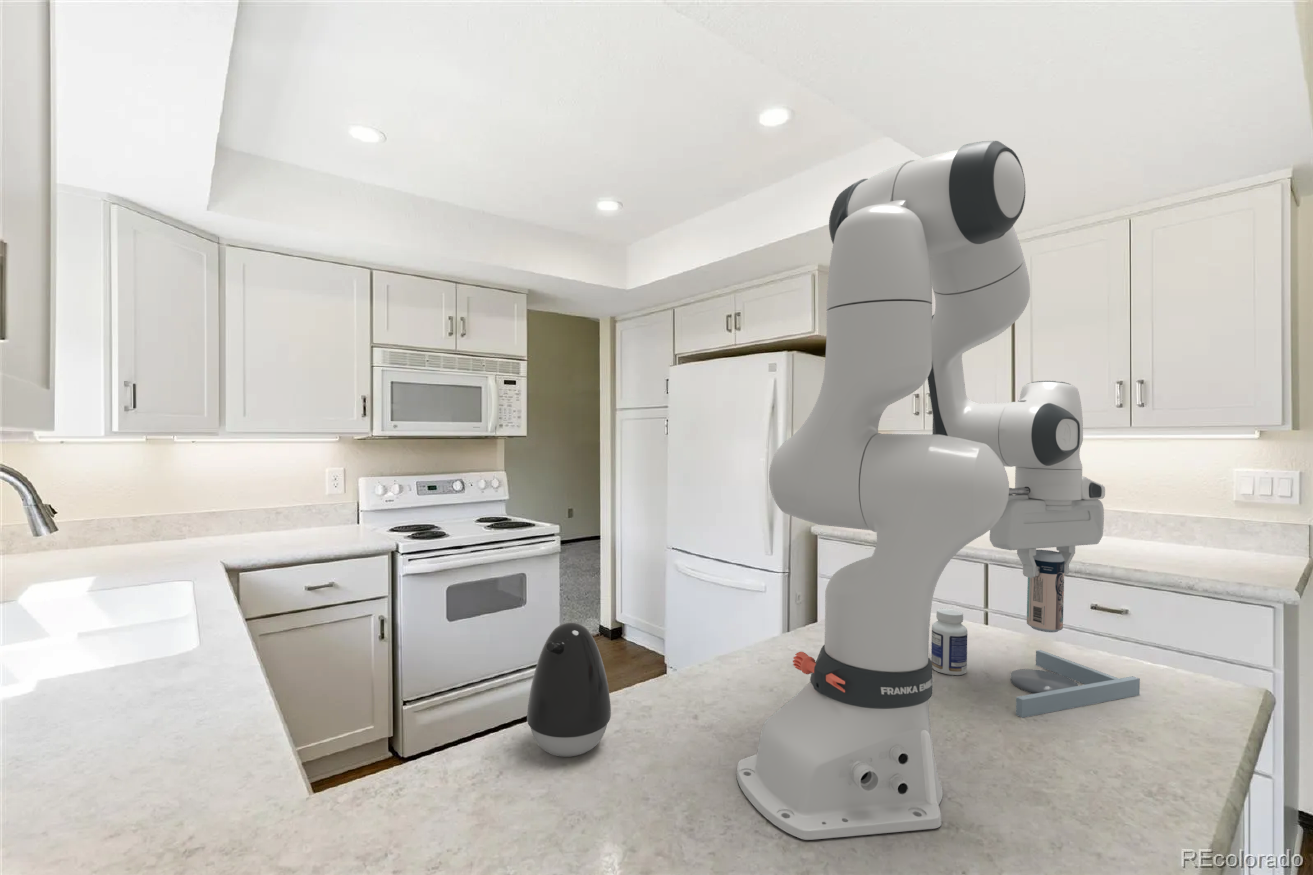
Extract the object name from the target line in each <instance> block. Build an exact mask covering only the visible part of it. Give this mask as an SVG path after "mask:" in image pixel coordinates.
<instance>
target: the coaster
mask: <svg viewBox="0 0 1313 875" xmlns="http://www.w3.org/2000/svg"><path fill="white" fill-rule="evenodd" d="M1010 682H1011V684H1012V685H1013V686H1015V687H1016V688H1018V689H1019V690H1021V691H1024V692H1025V693H1030V694H1035V693H1041V692H1047V691H1052V690H1058V689H1064V688H1069V687H1075V686H1079V684H1078V683H1077V681H1076V682H1075V680H1072V679H1070V678H1067V677H1065V676H1062V675H1060V674H1057V673H1055V672H1052V671H1049V670H1047V671H1046V670H1042V669H1036V668H1035V669H1033V668H1020V669H1015V670H1013V671H1011V672H1010Z"/></svg>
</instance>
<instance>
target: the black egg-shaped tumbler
mask: <svg viewBox="0 0 1313 875" xmlns="http://www.w3.org/2000/svg"><path fill="white" fill-rule="evenodd" d="M528 695H529V696H528V701H527V702H528V703H527V711H526V721H527V724H528V726H529V728H530V732H531V735H532V737H533V739H534V741H535V742H536V744H537V745H538V747H539V748H541V749H542V750H543V751H545V752H546V753H548V754H550V755H553V756H558V757H564V758H567V757H568V758H569V757H577V756H580V755H583V754H586V753H587V752H589V751H591V750H592V749H594V748H595V747H596V746H597V745H598V744H599V743H600V741H601V740H602V738H603V737H604V735H605V732H606V730H607V726H608V723H609V722H610V720H611V716H612V712H611V711H612V705H611V695H610V690H609V683H608V678H607V674H606V669H605V665H604V662H603V659H602V656H601V653H600V650H599V647H598V645H597V643H596V640H595V638H594V637H593V635H592V633H591V632H590V631H589V630H588V628H587V627H586V626H584V625H583V624H580V623H577V622H572V621H571V622H564V623H562V624H560V625H558V626H556V627H555V628H554V629H553V630H552V631H551V632H550V633H549V636H548V637H547V639H546V640H545V642H544V645H543V646H542V649H541V650H540V654H539V657H538V660H537V663H536V666H535V670H534V673H533V677H532V682H531V686H530V691H529V694H528Z"/></svg>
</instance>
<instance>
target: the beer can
mask: <svg viewBox="0 0 1313 875" xmlns="http://www.w3.org/2000/svg"><path fill="white" fill-rule="evenodd" d="M1033 558H1034V561H1035V563H1036V565H1037V566H1040V576H1039V577H1034V578H1030V577H1027V589H1026V591H1027V592H1026V593H1027V595H1026V596H1027V597H1026V601H1027V602H1026V624H1027V625H1028V626H1030V628H1032V629H1033V630H1036V631H1040V632H1044V633H1057V632H1060V631H1062V630H1063V628H1064V603H1065V602H1064V599H1065V598H1064V597H1065V595H1064V594H1065V593H1064V592H1065V575H1064V564H1065V560H1064V558H1063V556H1062V553H1059V551H1057V550H1056V551H1055V550H1048V549H1036V555H1035V556H1033Z"/></svg>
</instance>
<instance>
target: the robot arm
mask: <svg viewBox="0 0 1313 875" xmlns="http://www.w3.org/2000/svg"><path fill="white" fill-rule="evenodd" d="M1025 202H1026V179H1025V174H1024V169H1023V166H1022V164H1021V161H1020V159H1019V157H1018V155H1017V154H1016V152H1015V151H1014V150H1013V149H1011V148H1010V147H1009V146H1007V145H1006V144H1004V143H1002V142H1000V141H999V140H984V141H976V142H971V143H966V144H964V145H961V147H960V148H958V149H953V150H949V151H943V152H939V153H935V154H932V155H929V156H925V157H922V158H918V159H910V160H908V161H904V162H903V163H900V164H897V165H894V166H892V167H890V168H888V169H886V170H883V171H881V172H879V173H877V174H874V175H872V176H871V177H869V178H862V179H860V180H858V181H856V182H854V183H852V184H850V185H849V186H848V187H846V188H844V189H843V190H842V191H841V192H840V193H839V194H838V196H837V197H836V199H835V200H834V203H833V206H832V207H831V211H830V215H829V217H828V218H829V220H828V228H829V235H830V240H831V243H832V248H831V253H830V254H831V255H830V261H829V267H828V276H827V277H828V278H827V286H826V287H827V289H826V336H825V337H826V338H825V340H826V342H825V359H824V360H825V361H824V370H823V371H824V373H823V379H822V383H821V384H822V385H821V386H820V387H821V388H820V392H819V394H818V397H817V399H816V402H815V404H814V407H813V409H812V410H811V412H810V414H809V415H808V417H807V419H806V420H805V422H804V423H803V424H802V425H801V427H800V428H798V430H797V431H796V432H795V433H794V434H793V435H792V436H790V437H788V439H787V440H784V442H783V443H782V444H781V445H780V446H779V447H778V449H777V450H776V452H775V454H774V455H773V457H772V459H771V463H770V467H769V472H768V473H769V474H768V483H769V490H770V492H771V495H772V498H773V500H774V502H775V504H776V505H777V507H778V508H779V509H780V511H781V512H783V513H784V514H786V515H788V516H792V517H794V518H797V519H799V520H803V521H806V522H810V523H813V524H815V525H818V526H827V527H837V528H847V529H853V530H854V529H856V530H864V531H872V532H874V533H876V542H875V549H874V551H873V553H872V555H871V556H868V557H865V558H862V559H859V560H857V561H855V562H854V561H853V562H851V563H849V564H847V565H845V566H843V567H841V568H839V569H838V570H837V571H836V572H835V573H834V574H832V575H831V578H829V581H828V583H827V585H826V588H825V595H824V596H825V597H824V644H823V645H822V647H821V648H820V651H819V654H818V655H817V658H816V660H815V658H814V657H812V656H809V655H808V654H807V653H806V652H804V651H799V652H796V653H795V656H793V658H792V659H793V660H792V663H793V664H792V665H793V666H794V668H795V669H797V670H799V671H801V672H802V673H803V674H805V675H810V677H809V678H810V679H809V680H810V681H809V683H808V684H806V685H805V686H804V687H803V688H802V689H801V690H800V691H798V692H797V693H796V694H795V695H794V696H793V697H792V698H790V700H788V701H787V702H786V703H785V704H784V705H783V706H781V707H780V708H779V709H778V710H776V712H774V713H773V714H772V715H771V716H769V717H768V718H767V719H766V720H765V722H764V723H763V725H762V728H761V732H760V736H759V740H758V745H757V746H758V747H757V753H756V754H753V755H750V756H747V757H745V758H742V759H739V761H738V763H737V768H736V779H737V782H738V785H739V787H740V789H741V791H742V793H743V794H744V796H745V797H746V798H747V800H748V801H749V802H750V803H751V805H753V806H754V808H755V809H756V810H757V811H758V813H760V814H761V815H762V816H763V817H764V818H765V819H767V820H768V821H769V822H770V823H772V825H774V826H776V827H777V828H778V829H780V830H782V831H784V832H786V833H787V834H789V835H792V836H794V837H797V838H798V839H801V840H805V841H809V840H821V839H833V838H844V837H855V836H856V837H857V836H867V835H878V834H887V833H888V834H889V833H899V832H900V833H901V832H912V831H922V830H923V831H924V830H932V829H933V830H934V829H937V828H939V827H942V814H941V809H940V804H941V801H942V799H943V794H944V792H943V791H944V790H943V787H942V784H941V780H940V776H939V774H938V772H939V771H938V769H937V763H936V759H935V754H934V744H933V737H932V726H931V718H930V717H931V716H930V704H929V700H930V699H931V698H932V696H933V684H934V678H933V668H932V661H931V658H929V650H930V648H929V647H930V646H929V645H930V644H929V641H930V626H931V625H930V624H931V614H932V607H933V599H934V595H935V594H934V593H935V590H936V587H937V584H938V581H939V579H940V577H941V575H942V574H943V571H945V570H944V569H945V568H946V567H947V565H948V564H949V562H950V561H952V559H953V558H954V557H955V556H956V554H958V553H959V552H960V551H961V550H962V549H963V548H964V547H966V546H967V545H968V544H970V543H971V542H973V541H975V540H977V539H978V538H980V537H982V536H983V535H985V534H986V533H988V532H989V542H990V543H991V545H992V546H993V547H994V548H996V549H997V548H998V549H1001V550H1005V551H1007V550H1008V551H1016V554H1017V557H1018V558H1019V561H1020V562H1021V565H1022V574H1023V575H1022V576H1024V577H1025V578H1026V577H1027V578H1028V577H1030V578H1034V577H1039V576H1040V566H1037V565H1036V563H1035V561H1034V558H1033V556H1035V555H1036V550H1038V549H1047V548H1048V549H1049V548H1050V549H1051V548H1056V552H1059V553H1062V556H1063V558H1064V560H1065V564H1064V576H1065V575H1066V576H1067V575H1069V573H1070V564H1071V562H1072V561H1073V557H1074V556H1075V554H1076V547H1077V546H1088V545H1089V546H1091V545H1098V544H1099V543H1100V541H1101V540H1102V538H1103V537H1104V536H1103V535H1104V526H1105V525H1104V521H1105V512H1104V511H1105V510H1104V509H1105V508H1104V504H1103V502H1102V501H1101V500H1102V499H1104V498H1105V497H1106V487H1105V486H1104V485H1103V484H1101V483H1099V482H1096V481H1095V480H1092V479H1090V478H1088V477H1087V476H1083V463H1082V461H1081V458H1080V455H1081V454H1080V452H1081V447H1082V445H1083V440H1084V421H1083V418H1084V417H1083V409H1082V408H1083V407H1082V401H1081V396H1080V392H1079V389H1078V387H1077V386H1075V385H1073V384H1071V383H1069V382H1065V381H1056V380H1037V381H1031V382H1029V383H1026V384H1024V385H1023V386H1022V388H1021V391H1020V395H1019V400H1018V401H1011V402H976V401H974V400H972V399H970V398H969V397H967V393H966V384H965V383H966V382H965V376H964V375H965V374H964V366H963V354H965V353H966V352H968V351H970V350H971V349H973V348H975V347H977V346H979V345H982V344H984V343H986V342H989V341H991V340H992V339H994V338H996V337H997V336H999V335H1000V334H1002V333H1003V332H1005V331H1006V330H1007V329H1009V328H1010V327H1011V326H1012V325H1013V324H1015V323H1016V321H1017V320H1018V319H1019V318H1020V317H1021V316H1022V314H1023V313H1024V311H1025V310H1026V307H1027V305H1028V304H1029V300H1030V297H1031V284H1030V277H1029V271H1028V268H1027V264H1026V261H1025V260H1026V259H1025V257H1024V253H1023V249H1022V246H1021V243H1020V240H1019V237H1018V234H1017V232H1016V230H1015V228H1014V225H1015V223H1016V222H1017V221H1018V219H1019V218H1020V216H1021V215H1022V213H1023V209H1024V206H1025ZM933 294H934V299H935V302H934V303H935V308H934V313H933ZM926 381H927V384H928V391H929V397H930V406H931V410H932V411H931V412H932V434H931V433H929V434H928V433H927V434H923V433H922V434H920V433H918V434H917V433H916V434H914V433H913V434H912V433H880V432H879V427H880V426H879V424H880V421H881V418H882V415H883V413H884V411H885V410H886V409H887V408H888V407H889V406H890V405H892V404H894V403H897V402H898V401H900V400H903V399H904V398H906V397H908V396H910V395H911V394H913V393H915V392H916V391H917V390H919V388H921V387H922V386H923V385H924V384H925V382H926ZM1005 467H1008V468H1009V467H1010V468H1011V467H1013V468H1014V467H1015V470H1014V471H1015V472H1014V473H1015V474H1014V475H1015V476H1014V488H1013V487H1010V482H1009V476H1008V473H1007V470H1006V468H1005Z"/></svg>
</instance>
